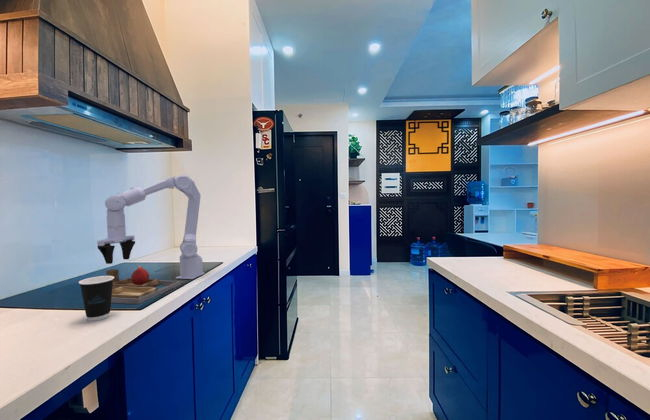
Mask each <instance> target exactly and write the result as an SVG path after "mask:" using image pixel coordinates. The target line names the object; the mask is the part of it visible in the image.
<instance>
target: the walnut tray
mask: <svg viewBox="0 0 650 420" xmlns="http://www.w3.org/2000/svg"><path fill="white" fill-rule="evenodd" d="M119 271H120V270H119V269H116V268H115V269H114V268H111V269H108V270H106V272H105V274H106V275H105V276H113V277H114V279H113V290H114V289H116V288H119V287H122V286H127V287H154V288H156V286H157V287H158V286H160V285H159V280H160V278H149V280H148V281H147V282H146V283H145V284H143V285H134V284H133V283H132V281H131V277H128V278H124V279H121V280H120V274H119V273H120V272H119Z"/></svg>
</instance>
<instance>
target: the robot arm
mask: <svg viewBox="0 0 650 420" xmlns="http://www.w3.org/2000/svg"><path fill="white" fill-rule="evenodd" d="M165 189H171V190H173V189H177V190H178V191H180V192H181V193H183V194H184V195H185V196H186V197H187V198H188V200H187V209H186V219H185V224H184V232H183V233H184V234H183V239H182V242H181V244H180V245H179V249H180V252H181V254H180V255H179V276H176V277H175V279H177V280H178V279H180V280H193V279H196V278H198V277H200V276H202V275H204V274H205V272H204V270H203V266H204V265H203V263H204V262H203V257H202V256H201V255H200V254H198V253H197V252H198V246H197V230H198V221H199V210H200V203H201V197H202V196H201V193H200V191H199V189H198V187H197V186H196V184H195V181H194V180H193V179H192V178H190V176H188V175H185V174H180V175H178V176H172V177H169V178H164V179H163V180H160V181H157V182H155V183H153V184H150V185H148V186H146V187H144V188H143V187H142V188H141V187H138V186H136V187H134V186H131V187H130V188H129V189H128V190H126V191H124V192H121V193H120V192H117V193H116V195H115V194H114V195H110V196H109V197H108V198H106V200H105V201H104V205H105V208H106V227H107V229H106V230H107V237H106V238H104V239H99V240H97V242H96V243H97V249H98V250H99V252H100V253H101V255H102V257H103V258H104V261H105V264H107V265H110V264H111V265H112V264H113V261H114V250H115V248H116V246H115V245H114V244H118V243H119V244H120V247H121V254H122V259H123V260H130V257H131V252H132V250H133V248H134V245H135V244H136V241H135V235H126V234H127V233H126V216H125V209H124V208H125V207H130V206H133V205H135V204H138V203H140V202H144V201H145V200H146V197H147V196H148V195H152V194H154V193H157V192H159V191H160V192H161V191H162V190H165Z"/></svg>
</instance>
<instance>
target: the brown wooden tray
mask: <svg viewBox="0 0 650 420" xmlns="http://www.w3.org/2000/svg"><path fill="white" fill-rule="evenodd" d="M181 283H182V281H181V280H162V279H161V280H160V279H159V285H158V286H161V285H162V286H164V287H161V288H157V291H155V292H152V293H150V294H148V295H145V296H143V297H141V298H117V297H112V298H111V304H128V305H129V304H131V305H140V304H142V303H145V302H146V300H147V301H148V299H149V300H151V299H153V298H155V297H154V296H156V297H157V295H158V296H160V295H162V294H164V293H166V292H165V291H167V292H168V290H169V291H171V290H173V289H175V288H177V286H178V287H180V286H181V285H182V284H181ZM179 285H180V286H179ZM172 288H173V289H172ZM170 289H171V290H170ZM163 292H164V293H163ZM161 293H162V294H161ZM159 294H160V295H159ZM152 297H153V298H152ZM150 298H151V299H150ZM144 301H145V302H144Z"/></svg>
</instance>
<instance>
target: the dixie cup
mask: <svg viewBox="0 0 650 420" xmlns="http://www.w3.org/2000/svg"><path fill="white" fill-rule="evenodd" d="M113 279H114V277H113V276H106V275H100V276H93V277H88V278H84V279H82V280H79V281H78V284H79V286H80V290H81V294H82V296H81V297H82V301H83V306H84V311H85V317H87V321H90V322H93V321H100V320H103V319H106V318H108V317H109V316H110V312H111V309H112V307H111V306H112V303H111V298H112V287H113Z"/></svg>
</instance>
